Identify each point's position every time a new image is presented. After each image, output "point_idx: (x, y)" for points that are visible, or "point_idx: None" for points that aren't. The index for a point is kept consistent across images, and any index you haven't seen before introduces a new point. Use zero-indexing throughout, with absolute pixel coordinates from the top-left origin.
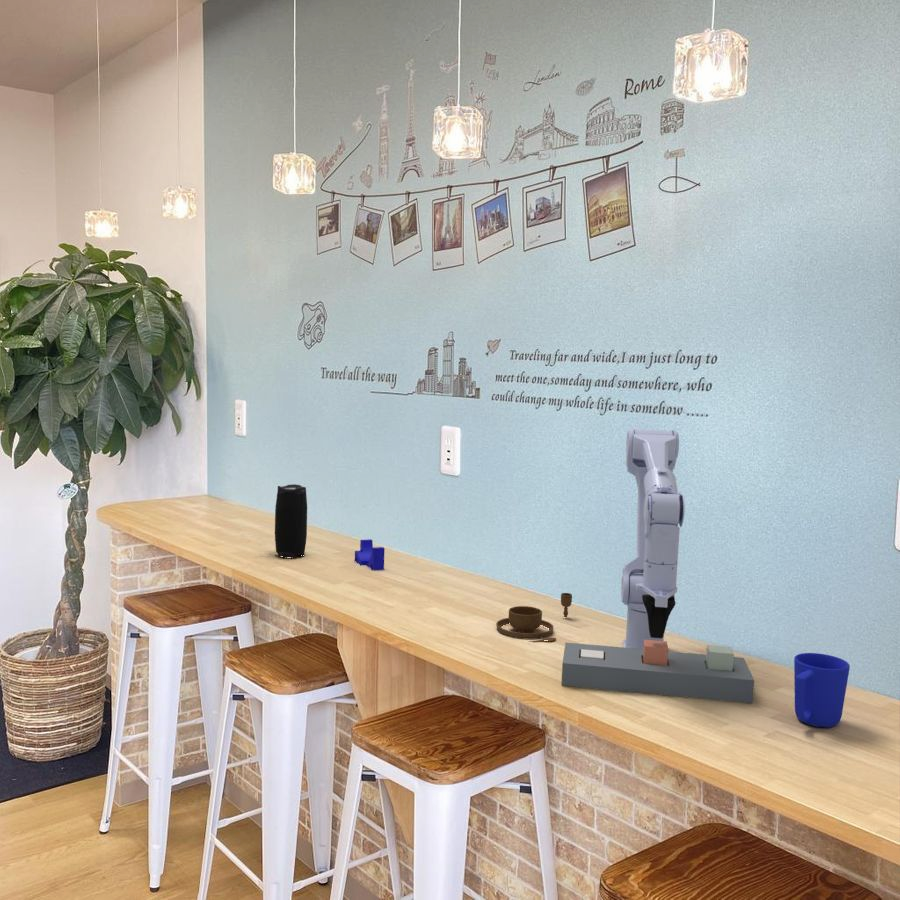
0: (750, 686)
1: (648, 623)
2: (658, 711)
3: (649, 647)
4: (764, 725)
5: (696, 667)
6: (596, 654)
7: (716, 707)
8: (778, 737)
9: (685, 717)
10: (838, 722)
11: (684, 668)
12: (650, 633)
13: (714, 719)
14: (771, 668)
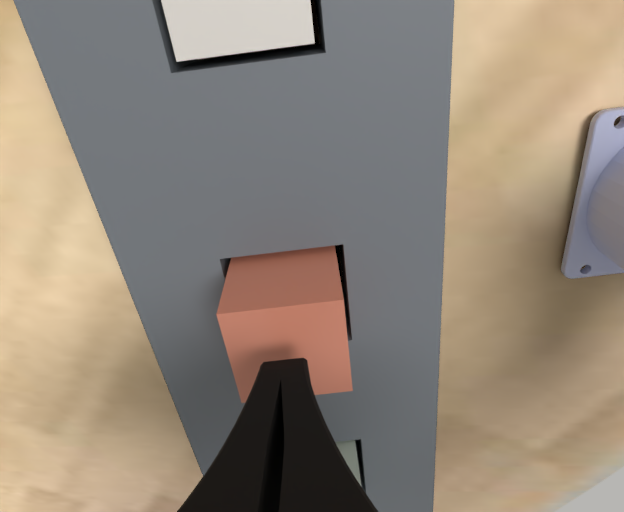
0: None
1: (285, 409)
2: (11, 286)
3: (223, 331)
4: (99, 488)
5: None
6: (226, 4)
7: (156, 411)
8: (44, 506)
9: (20, 353)
10: None
11: (237, 396)
12: (257, 378)
13: (61, 410)
14: (524, 497)
